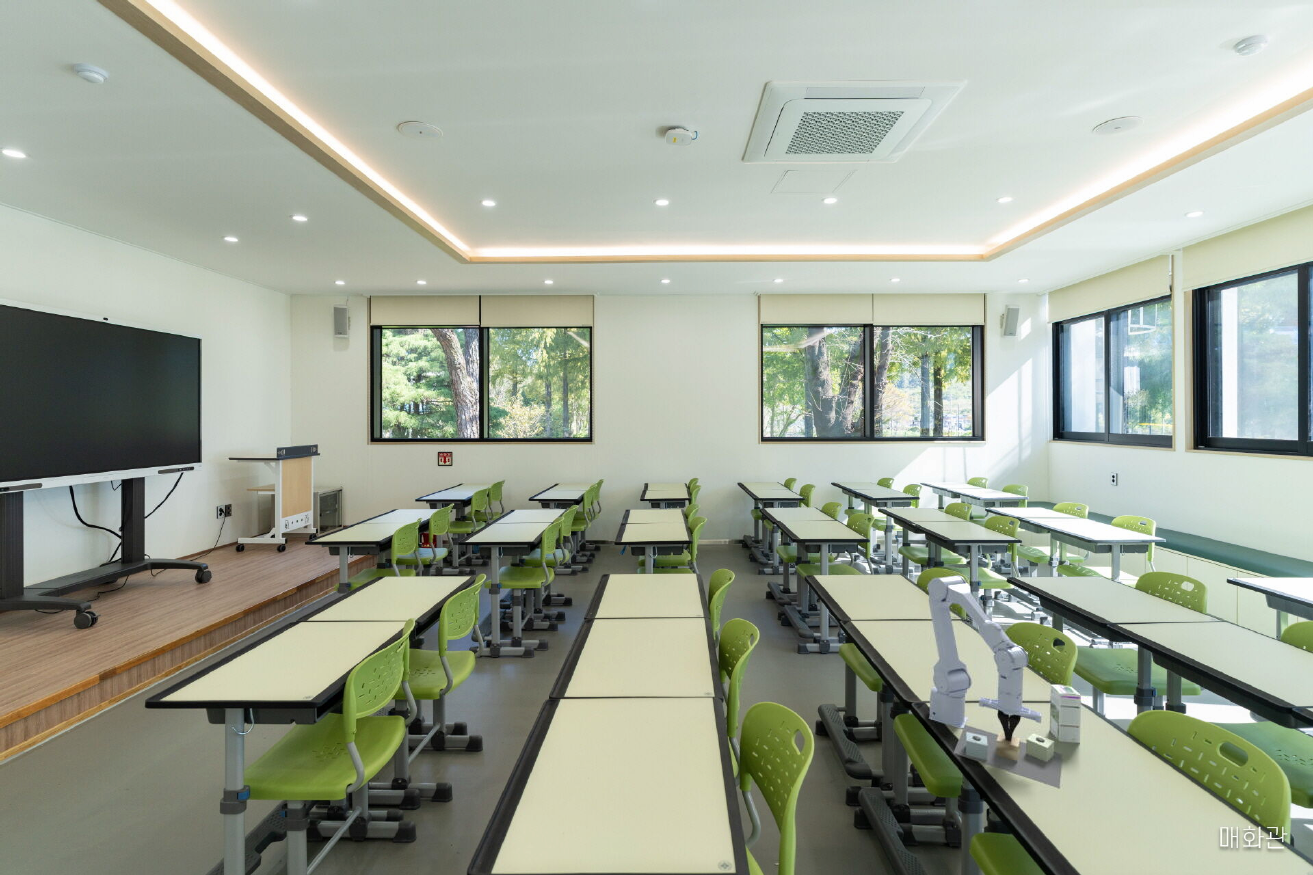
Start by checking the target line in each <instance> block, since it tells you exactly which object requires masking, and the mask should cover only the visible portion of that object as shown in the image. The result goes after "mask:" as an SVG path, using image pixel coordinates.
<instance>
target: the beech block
mask: <svg viewBox="0 0 1313 875" xmlns="http://www.w3.org/2000/svg"><path fill="white" fill-rule="evenodd" d="M997 735H998V738H997V749H996V755H999V756H1003V757H1006V758H1009V759H1012V760H1015V761H1018V758H1019V753H1020V742H1021V738H1020V737H1015V736H1013V735H1012V740H1011V741H1009V740H1006V739H1005V734H1004V732H1003V733H1002V732H998V734H997Z"/></svg>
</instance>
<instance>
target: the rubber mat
mask: <svg viewBox="0 0 1313 875" xmlns="http://www.w3.org/2000/svg"><path fill="white" fill-rule="evenodd" d="M966 732H969V733H974V734H978V735H982V736H986V737H987V744H988V752H987V760H984V759H980V758H976V757H972V756H968V755H966ZM998 735H999V734H997V733H994V732H992V731H991V732H990V731H988V730H984V729H980V728H976V727H974V726H970V725H967V724H965V726H964V729H962V732H961V734H960V736H959V738H958V741H957V743H956V746H955V748H954V751H953V754H956V755H958V756H961V757H964V758H967V759H970V760H974V761H976V762H978V763H979V762H980V763H983V764H986V765H988V766H991V767H994V768H998V769H999V770H1004V771H1007V772H1009V773H1012V774H1015V775H1018V776H1020V777H1021V776H1022V777H1024V778H1027V779H1031V780H1033V781H1037V782H1039V783H1043V784H1045V785H1048V786H1051V787H1054V788H1057V789H1060V788H1061V776H1062V765H1063V753H1060V752H1056V751H1054V756H1053V757H1052V758H1051V759H1050V760H1049V761H1048V762H1045V761H1043V760H1040V759H1038V758H1036V757H1033V756H1031V755H1029V754H1026V742H1023V741H1020V753H1019V758H1018V761H1015V760H1012V759H1009V758H1006V757H1003V756H999V755H996V749H997V738H998Z"/></svg>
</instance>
